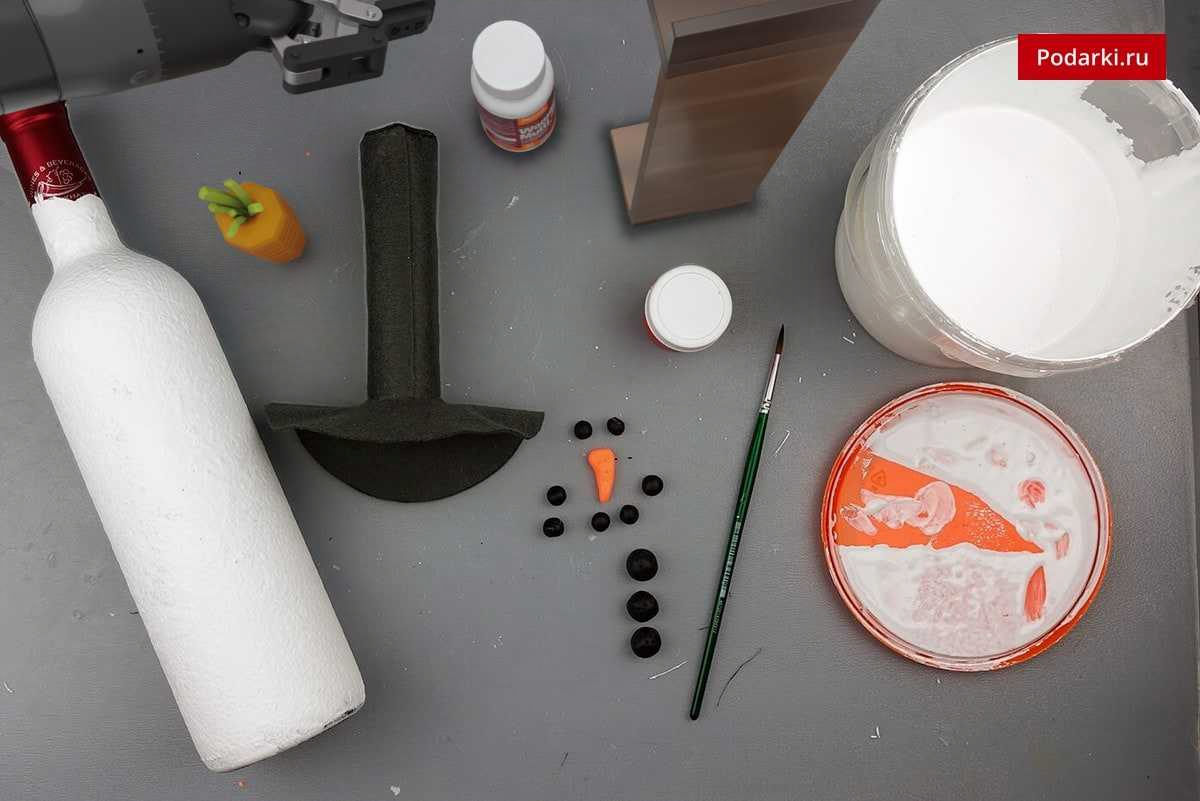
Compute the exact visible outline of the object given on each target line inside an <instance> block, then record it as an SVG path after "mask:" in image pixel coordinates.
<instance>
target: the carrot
mask: <svg viewBox="0 0 1200 801" xmlns="http://www.w3.org/2000/svg"><path fill="white" fill-rule="evenodd" d="M222 185H223V186H224V187H226V188H227V190H223V189H221V188H220V189H219V188H216V187H211V186H207V185H206V186H205V185H204V186H202V187H201V188H200V189H199V192H198V195H197V196H198V197H199V199H201V200H202V201H206V202H210V203H208V207H207V208H208V210H209V211H210V212H212V213H214V219H215V221H216V223H217V225H218V227H219V230H220V232H221V234H222V236H223V238H224V240H225V243H227V244H228V245H230V246H232V247H234V248H236V249H237V250H239V251H242V252H244V253H245V254H248V255H250V256H253V257H256V258H260V259H263V260H265V261H268V262H271V263H275V264H287V263H289V262H291V261H293V260H295V259H297V258H299V257H302V256H303V252H304V250H305V247H306V244H307V241H308V240H307V239H308V238H307V237H306V234H305V232H304V230H303V227H302V226H301V223H300V221H299V219H298V217H297V215H296V213H295V211H294V209H293V207H292V206H291V205H290V204H289V203H288V201H287V200H286V199H285V198H284V197H283V196H282V195H281V194H280V193H279V192H278V191H276V190H275V189H272V188H270V187H266V186H263V185H261V184H258V183H255V182H252V181H249V180H248V181H245V182H243V183H240V184H239V183H238V182H237V181H235V180H234V179H230V178H228V179H226V180H224V182H223V184H222Z"/></svg>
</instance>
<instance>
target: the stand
mask: <svg viewBox="0 0 1200 801" xmlns="http://www.w3.org/2000/svg"><path fill="white" fill-rule="evenodd" d="M855 41H856V40H853V41H848V42H843V43H838V44H834V45H829V46H824V47H819V48H815V49H810V50H805V51H800V52H796V53H791V54H786V55H781V56H776V57H772V58H767V59H762V60H757V61H753V62H748V63H743V64H738V65H733V66H729V67H724V68H719V69H714V70H710V71H705V72H700V73H695V74H691V75H686V76H681V77H676V78H671V79H667V80H666V79H665V76H664V72H663V68H662V63H660V65H659V66H660V67H659V70H658V71H659V72H658V76H657V80H656V86H655V91H654V95H653V99H652V105H651V108H650V115H649V117H648V118H649V119H648V121H645V122H640V123H635V124H630V125H626V126H622V127H617V128H616V127H615V128H611V129H610V130H609V132H610V133H609V137H610V141H611V142H610V143H611V145H612V151H613V155H614V159H615V164H616V168H617V172H618V176H619V181H620V185H621V189H622V193H623V198H624V202H625V207H626V211H627V216H628V220H629V224H630V227H631V228H636V227H640V226H645V225H649V224H654V223H655V224H656V223H659V222H663V221H668V220H673V219H678V218H682V217H687V216H692V215H696V214H702V213H705V212H711V211H716V210H719V209H723V208H728V207H733V206H737V205H742V204H747V203H750V201H751V200H752V198H753V196H754V195H755V194H756V192H757V190H758V189H759V188H760V186H761V184H762V183H763V182H764V180H765V179H766V177H767V175H768V174H769V172H770V171H771V169H772V168H773V166H774V165H775V163H776V162H777V161H778V159H779V158H780V156H781V154H782V152H783V151H784V149H785V148H786V147H787V145H788V144H789V142H790V140H791V139H792V137H793V136H794V134H795V133H796V131H797V130H798V128H799V126H800V125H801V124H802V122H803V121H804V120H805V118H806V116H807V115H808V113H809V112H810V110H811V108H812V107H813V105H814V104H815V103H816V101H817V100H818V97H819V96H820V95H821V93H822V92H823V90H824V89H825V88H826V86H827V84H828V83H829V81H830V80H831V78H832V77H833V75H834V74H835V72H836V71H837V69H838V67H839V66H840V65H841V63H842V61H843V60H844V58H845V57H846V55H847V54H848V53H849V51H850V50H851V48H852V47H853V45H854V43H855Z"/></svg>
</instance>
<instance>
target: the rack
mask: <svg viewBox="0 0 1200 801" xmlns="http://www.w3.org/2000/svg"><path fill="white" fill-rule="evenodd" d="M881 2H882V0H646V4H647V8H648V13H649V16H650V20H651V25H652V29H653V33H654V37H655V43H656V47H657V50H658V55H659V59H660V62H661V63H662V68H663V72H664V76H665V79H666V80H667V79H671V78H676V77H681V76H686V75H691V74H695V73H700V72H705V71H710V70H714V69H719V68H724V67H729V66H733V65H738V64H743V63H748V62H753V61H757V60H762V59H767V58H772V57H776V56H781V55H786V54H791V53H796V52H800V51H805V50H810V49H815V48H819V47H824V46H829V45H834V44H838V43H843V42H848V41H853V40H855V41H856V40H857V39H858V38H859V36H860V35H861V33H862V32H863V30H864V29H865V26H866V25H867V23H868V22H869V21H870V19H871V17H872V16H873V14H874V13H875V11H876V10H877V8H878V7H879V6H880V4H881ZM661 63H660V64H661Z"/></svg>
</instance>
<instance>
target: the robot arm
mask: <svg viewBox="0 0 1200 801" xmlns="http://www.w3.org/2000/svg"><path fill="white" fill-rule="evenodd" d="M436 4H437V2H436V0H375V1H374V4H371V3H367V2H365V1H361V0H0V116H3V115H8V114H12V113H16V112H21V111H24V110H29V109H32V108H36V107H41V106H45V105H49V104H53V103H58V102H59V101H60V102H61V101H66V100H72V99H73V100H74V99H80V98H91V97H99V96H107V95H112V94H118V93H121V92H122V93H123V92H125V91H130V90H133V89H138V88H142V87H146V86H150V85H154V84H159V83H162V82H166V81H170V80H175V79H179V78H184V77H187V76H191V75H196V74H199V73H200V74H201V73H204V72H207V71H212V70H216V69H220V68H223V67H224V68H225V67H227V66H229V65H231V64H232V63H234V62H235V61H236V60H238V58H240V57H242V55H244V54H246V53H249V52H264V53H270V54H272V55H273V57H274V59H275V61H276V62H277V64H278V66H279V68H280V69H281V72H282V88H283V90H284V91H285V92H286V93H288V94H290V95H293V96H297V95H303V94H307V93H312V92H317V91H322V90H326V89H332V88H335V87H341V86H345V85H351V84H355V83H359V82H363V81H369V80H372V79H373V80H374V79H378V78H380V77H382V76H383V74H384V71H385V65H386V58H387V53H388V47H389V42H393V41H397V40H400V39H405V38H408V37H412V36H416V35H420V34H423V33H425V32H426V31H428V29H429V25H430V24H431V23H432V21H433V19H434V18H433V17H434V14H435V8H436ZM315 7H318V8H320V10H321V11H322V21H321V22H314V21H312V20H310V19H311V18H312V16H313V14H314V12H315ZM340 20H345V21H348V22H352V23H356V24H358V27H356V26H352V25H349V24H345V23H342V22H340Z"/></svg>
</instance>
